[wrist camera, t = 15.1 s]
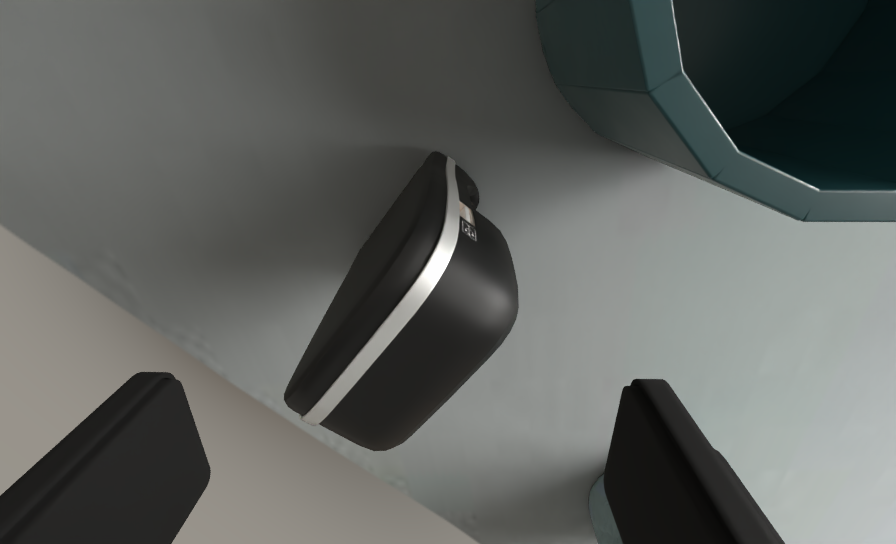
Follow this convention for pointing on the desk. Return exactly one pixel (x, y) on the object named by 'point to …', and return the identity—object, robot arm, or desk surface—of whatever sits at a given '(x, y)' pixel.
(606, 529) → the embossed ceramic cup
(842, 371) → the desk surface
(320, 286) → the desk surface
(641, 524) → the robot arm
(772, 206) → the tin
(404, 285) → the battery charger
